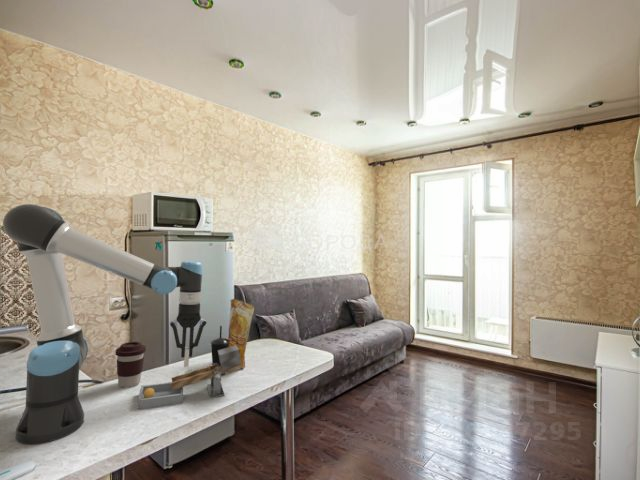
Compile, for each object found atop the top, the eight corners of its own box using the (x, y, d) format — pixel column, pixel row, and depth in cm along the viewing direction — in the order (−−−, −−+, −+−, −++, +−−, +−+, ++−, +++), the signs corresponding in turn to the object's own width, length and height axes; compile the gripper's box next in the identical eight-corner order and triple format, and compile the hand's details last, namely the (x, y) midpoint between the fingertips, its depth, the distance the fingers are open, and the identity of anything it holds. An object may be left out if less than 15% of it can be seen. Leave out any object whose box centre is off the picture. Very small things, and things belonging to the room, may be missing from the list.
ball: (142, 392, 111) (153, 389, 112) (143, 388, 114) (154, 384, 115) (144, 402, 111) (155, 398, 112) (144, 397, 114) (155, 394, 115)
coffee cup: (116, 392, 118) (118, 350, 118) (112, 382, 125) (113, 342, 125) (146, 385, 124) (148, 345, 124) (141, 376, 132) (142, 338, 132)
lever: (172, 390, 113) (168, 370, 113) (172, 377, 124) (169, 359, 123) (242, 368, 123) (238, 349, 122) (236, 357, 133) (233, 340, 133)
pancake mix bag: (234, 355, 159) (237, 297, 159) (253, 368, 144) (256, 304, 145) (221, 358, 155) (223, 298, 155) (239, 371, 140) (242, 305, 140)
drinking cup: (222, 378, 132) (225, 329, 132) (205, 376, 134) (207, 327, 134) (231, 371, 140) (233, 324, 140) (215, 369, 141) (217, 322, 141)
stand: (209, 397, 116) (210, 373, 116) (207, 385, 126) (207, 363, 126) (224, 395, 118) (225, 371, 118) (220, 383, 128) (221, 361, 128)
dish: (137, 409, 107) (137, 400, 107) (140, 393, 117) (141, 385, 117) (182, 402, 112) (183, 394, 112) (182, 388, 123) (182, 380, 123)
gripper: (170, 305, 118) (166, 371, 118) (208, 304, 123) (205, 367, 123) (170, 301, 125) (167, 363, 125) (207, 300, 130) (203, 360, 130)
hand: (186, 365), depth 124 cm, fingers closed
